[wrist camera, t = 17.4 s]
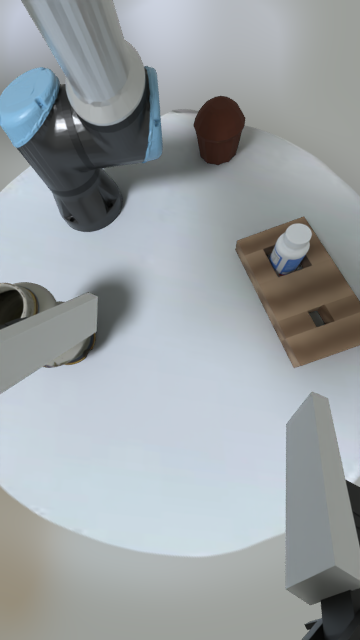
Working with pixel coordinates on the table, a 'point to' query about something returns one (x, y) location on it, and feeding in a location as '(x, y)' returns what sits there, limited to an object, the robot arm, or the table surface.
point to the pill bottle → (290, 249)
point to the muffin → (219, 129)
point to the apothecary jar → (30, 300)
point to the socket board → (303, 297)
